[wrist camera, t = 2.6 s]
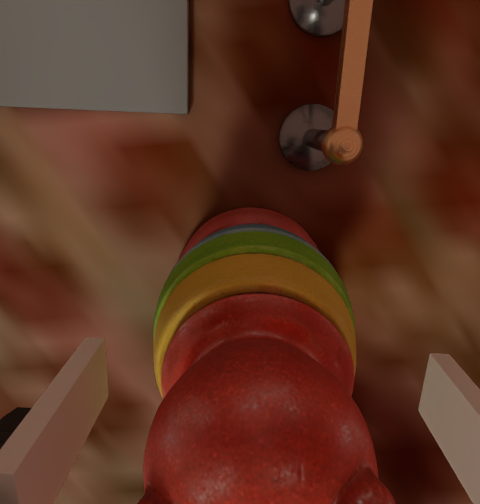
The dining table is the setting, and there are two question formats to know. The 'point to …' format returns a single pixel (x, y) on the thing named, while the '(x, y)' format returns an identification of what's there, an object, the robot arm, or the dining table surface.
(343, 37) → the miniature post railing
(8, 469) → the robot arm
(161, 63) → the mat
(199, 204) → the dining table surface
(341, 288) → the stacking bear
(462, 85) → the dining table surface
